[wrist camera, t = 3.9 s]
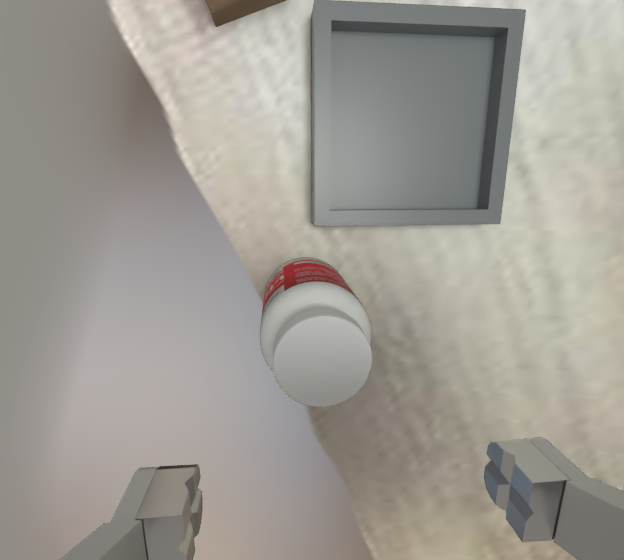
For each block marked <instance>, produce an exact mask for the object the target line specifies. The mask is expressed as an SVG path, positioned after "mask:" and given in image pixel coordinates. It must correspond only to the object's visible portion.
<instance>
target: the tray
mask: <svg viewBox="0 0 624 560" xmlns="http://www.w3.org/2000/svg"><path fill="white" fill-rule="evenodd" d="M525 13H526V10H522V9H501V8H480V7H459V6H438V5H416V4H395V3H374V2H353V1H332V0H314V5H313V10H312V15H311V195H312V224H313V225H314V226H367V225H456V224H500V221H501V213H502V205H503V196H504V188H505V180H506V171H507V163H508V155H509V146H510V138H511V130H512V121H513V113H514V105H515V96H516V88H517V80H518V71H519V63H520V55H521V46H522V38H523V30H524V21H525Z"/></svg>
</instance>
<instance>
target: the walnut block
mask: <svg viewBox="0 0 624 560" xmlns="http://www.w3.org/2000/svg"><path fill="white" fill-rule="evenodd" d="M283 1H286V0H206V2H207V4H208V7H209V10H210V12H211V15H212V17H213V20H214V23H215V25H216V27H217V26H220V25H223V24H225V23H228V22H230V21H233V20H236V19H238V18H241V17H244V16H246V15H249V14H251V13H254V12H257V11H259V10H262V9H265V8H267V7H270V6H272V5H275V4H278V3H280V2H283Z"/></svg>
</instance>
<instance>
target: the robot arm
mask: <svg viewBox="0 0 624 560" xmlns="http://www.w3.org/2000/svg"><path fill="white" fill-rule="evenodd" d="M487 455H488V457H489V458H490V459H491V461H490V462H489V463H488V464H487V465H486V467H485V472H484V480H485V485H486V489H487V491H488V493H489V495H490V497H491V499H492V500H493V502H494V503H495V504H496V505H497V506H499V507H500V508H502V509H503V510H505V511H506V520H507V521H508V523H509V524H510V526H511V527H512V528H513V530H514V531H515V533H516V534H517V535H518V537H519V538H520V539H521V541H522V542H532V541H546V540H554V542H555V543H556V544H558V545H559V546H560V547H562V548H563V549H564V550H566V551H567V552H568V553H570V554H571V555H572V556H574V557H575V558H577V559H578V560H624V491H621V490H619V489H617V488H615V487H613V486H611V485H608V484H606V483H604V482H602V481H600V480H598V479H596V478H594V479H590V478H589V477H587V476H586V475H585V474H584V473H583V472H582V471H581V470H580V469H579V468H577V467H576V466H575V465H574V464H573V463H572V462H571V461H570V460H569V459H567V458H566V457H565V456H564V455H563V454H562V453H561V452H560V451H559V450H558V449H556V448H555V447H554V446H553V445H552V444H551V443H550V442H549V441H548V440H546V439H544V438H542V437H535V438H525V439H518V440H506V441H494V442H490V444H489V445H488V449H487ZM199 481H200V470H199V466H198V465H197V464H196V465H177V466H160V467H147V468H139V469H138V470H137V471H136V472H135V473H134V475H133V477H132V479H131V481H130V483H129V485H128V487H127V489H126V491H125V493H124V495H123V497H122V499H121V501H120V503H119V505H118V507H117V509H116V511H115V514H114V516H113V518H112V520H111V522H110V523H103V524H102V525H101V526H100V527H98V528H97V529H96V530H95V531H93V532H92V533H91V534H90V535H89V536H87V537H86V538H85V539H84V540H83V541H81V542H80V543H79V544H78V545H76V546H75V547H74V548H73V549H71V550H70V551H69V552H68V553H67V554H65V555H64V556H63V557H62V558H60V559H59V560H193V557H194V553H195V546H194V538H195V536H197V535H198V533H199V529H200V524H201V517H202V491H201V490H200V489H199V488H198V485H199Z"/></svg>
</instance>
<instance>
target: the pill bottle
mask: <svg viewBox="0 0 624 560" xmlns="http://www.w3.org/2000/svg"><path fill="white" fill-rule="evenodd" d="M370 342H371V326H370V321H369V318H368V315H367V313H366V311H365V309H364V307H363V305H362V304H361V302H360V301H359V300H358V298H357V297H356V296H355V294H354V293H353V292H352V290H351V289H350V288H349V286H348V285H347V284H346V282H345V281H344V280H343V278H342V277H341V275H340V274H339V273H338V272H337V271H336V270H335V269H334V268H333V267H332V266H330V265H329V264H327V263H325V262H323V261H321V260H318V259H314V258H299V259H295V260H291V261H289V262H287V263H285V264H283V265H282V266H280V267H279V268H278V269H277V270H276V271H275V272H274V273H273V275H272V276H271V277H270V279H269V281H268V283H267V286H266V289H265V294H264V302H263V310H262V320H261V327H260V344H261V350H262V353H263V356H264V358H265V361H266V362H267V364H268V366H269V367H270V369H271V370H272V371H273V372H274V375H275V378H276V380H277V382H278V384H279V386H280V387H281V389H282V390H283V391H284V392H285V393H286V394H287V395H288V396H289V397H291V398H292V399H294V400H295V401H297V402H299V403H301V404H304V405H308V406H312V407H328V406H334V405H337V404H340V403H342V402H344V401H346V400H348V399H350V398H351V397H353V396H354V395H355V394H356V393H357V392H358V391H359V390H360V389H361V388H362V387H363V385H364V384H365V382H366V381H367V379H368V376H369V374H370V371H371V367H372V351H371V347H370Z"/></svg>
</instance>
